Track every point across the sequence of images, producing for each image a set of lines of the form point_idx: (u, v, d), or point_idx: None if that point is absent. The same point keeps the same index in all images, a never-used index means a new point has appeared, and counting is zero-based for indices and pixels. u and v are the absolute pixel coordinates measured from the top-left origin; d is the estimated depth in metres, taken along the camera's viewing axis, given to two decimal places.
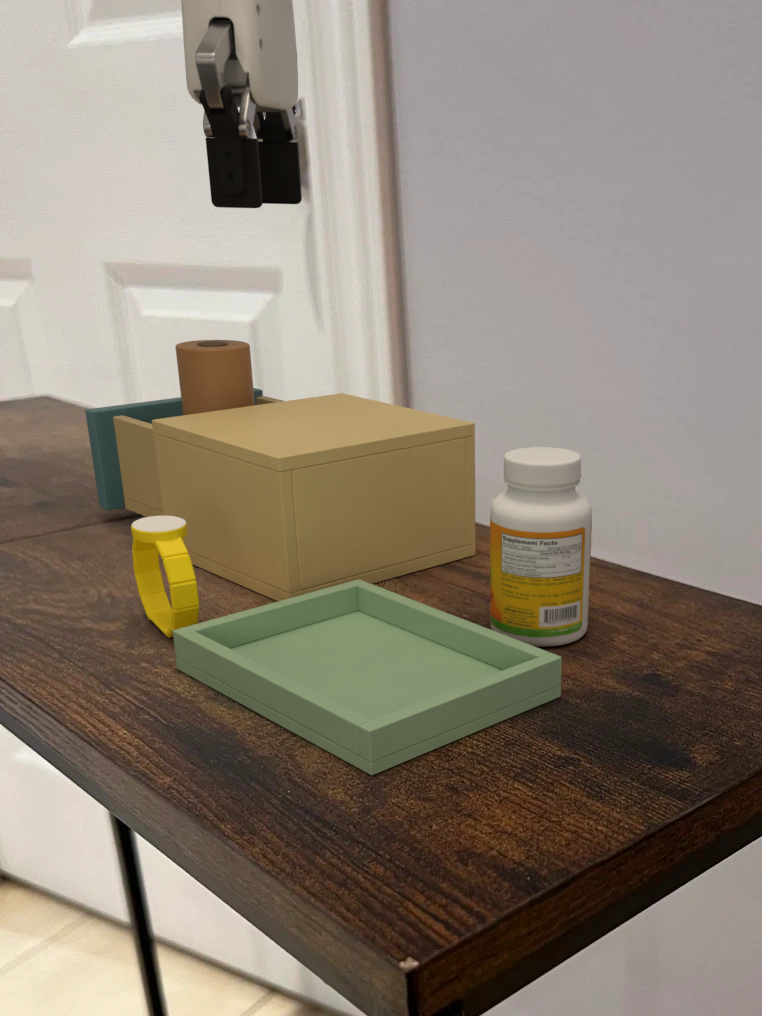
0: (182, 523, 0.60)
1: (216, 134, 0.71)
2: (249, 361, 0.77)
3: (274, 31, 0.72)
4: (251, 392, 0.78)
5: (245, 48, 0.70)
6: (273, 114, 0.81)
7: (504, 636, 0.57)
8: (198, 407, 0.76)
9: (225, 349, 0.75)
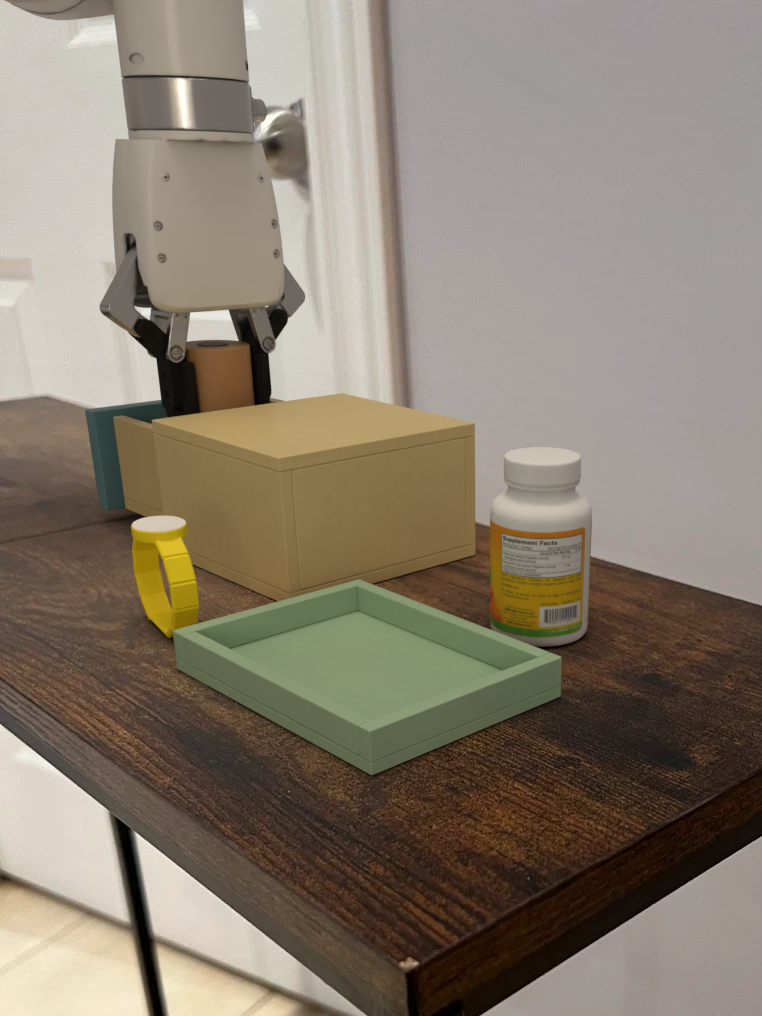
0: (182, 523, 0.60)
1: (156, 357, 0.75)
2: (249, 361, 0.77)
3: (196, 241, 0.71)
4: (251, 392, 0.78)
5: (143, 263, 0.70)
6: None
7: (504, 636, 0.57)
8: None
9: (225, 349, 0.75)
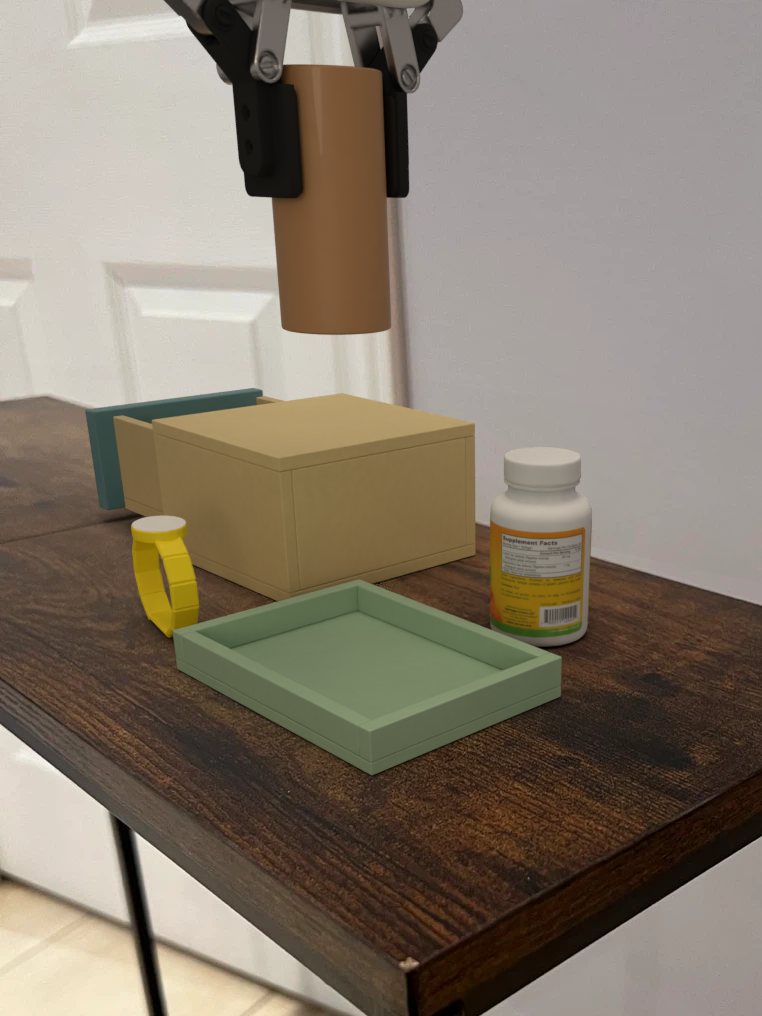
0: (182, 523, 0.60)
1: (232, 79, 0.45)
2: (381, 98, 0.47)
3: None
4: (383, 153, 0.48)
5: None
6: None
7: (504, 636, 0.57)
8: None
9: (347, 67, 0.45)
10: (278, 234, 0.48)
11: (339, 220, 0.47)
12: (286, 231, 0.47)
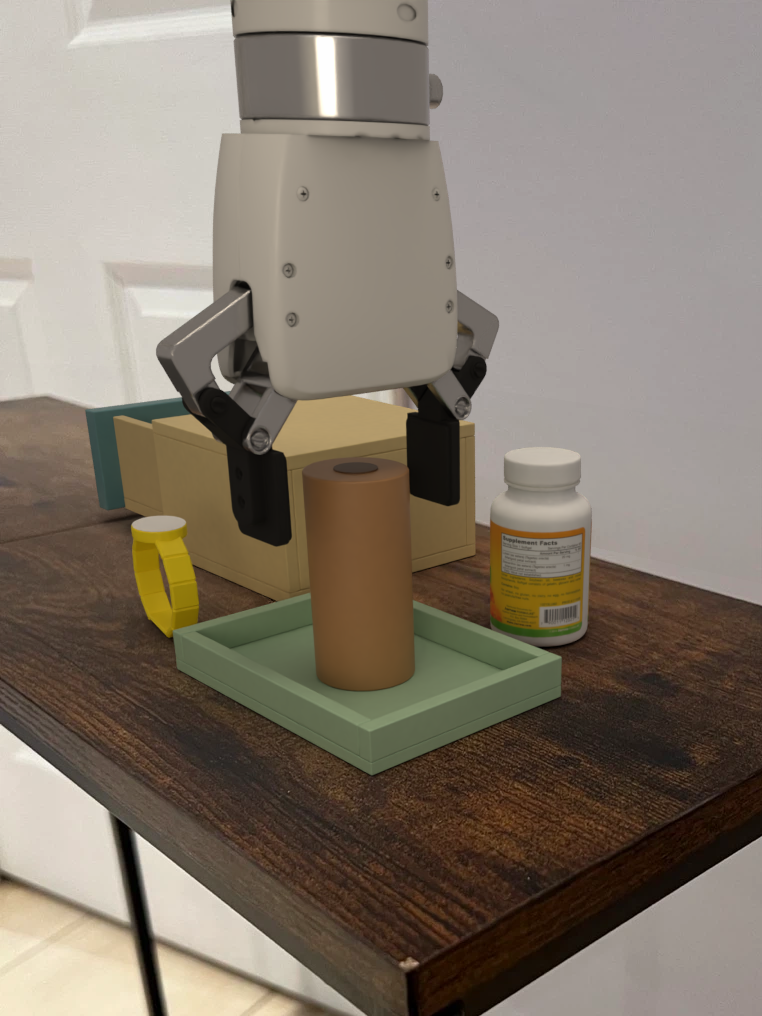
0: (182, 523, 0.60)
1: (226, 443, 0.48)
2: (408, 492, 0.52)
3: (342, 293, 0.46)
4: (409, 536, 0.53)
5: (264, 327, 0.45)
6: None
7: (504, 636, 0.57)
8: (335, 563, 0.51)
9: (379, 480, 0.50)
10: (315, 606, 0.53)
11: (370, 601, 0.52)
12: (322, 607, 0.53)
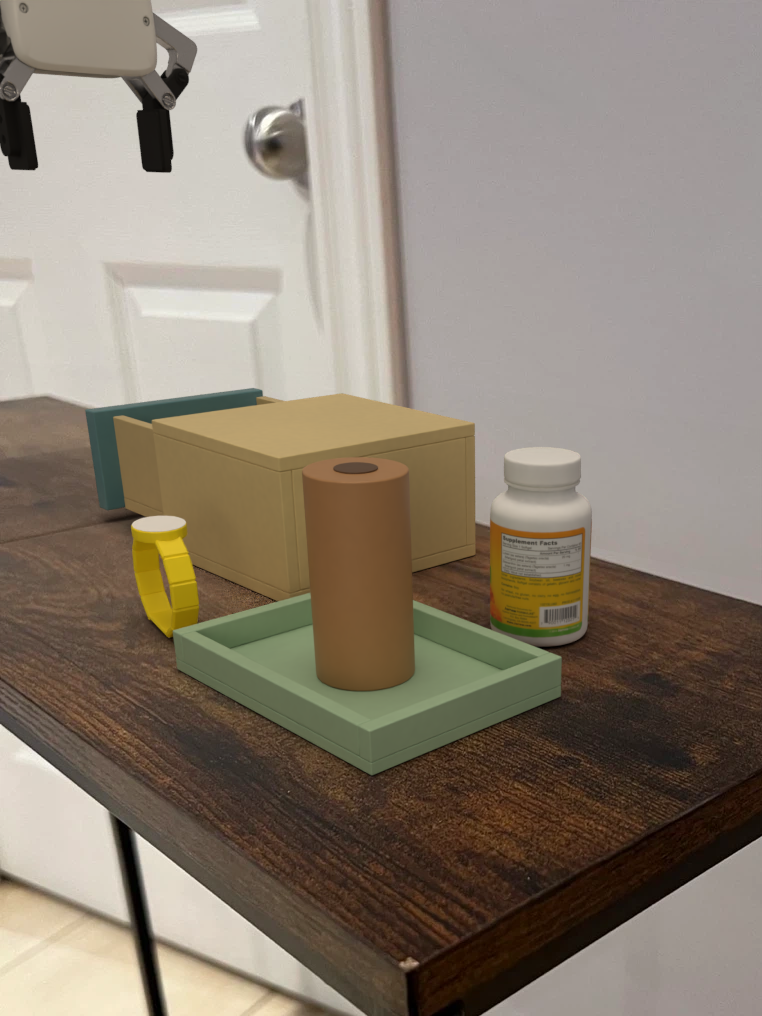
0: (182, 523, 0.60)
1: None
2: (408, 492, 0.52)
3: None
4: (409, 536, 0.53)
5: (6, 13, 0.72)
6: None
7: (504, 636, 0.57)
8: (335, 563, 0.51)
9: (379, 480, 0.50)
10: (315, 606, 0.53)
11: (370, 601, 0.52)
12: (322, 607, 0.53)
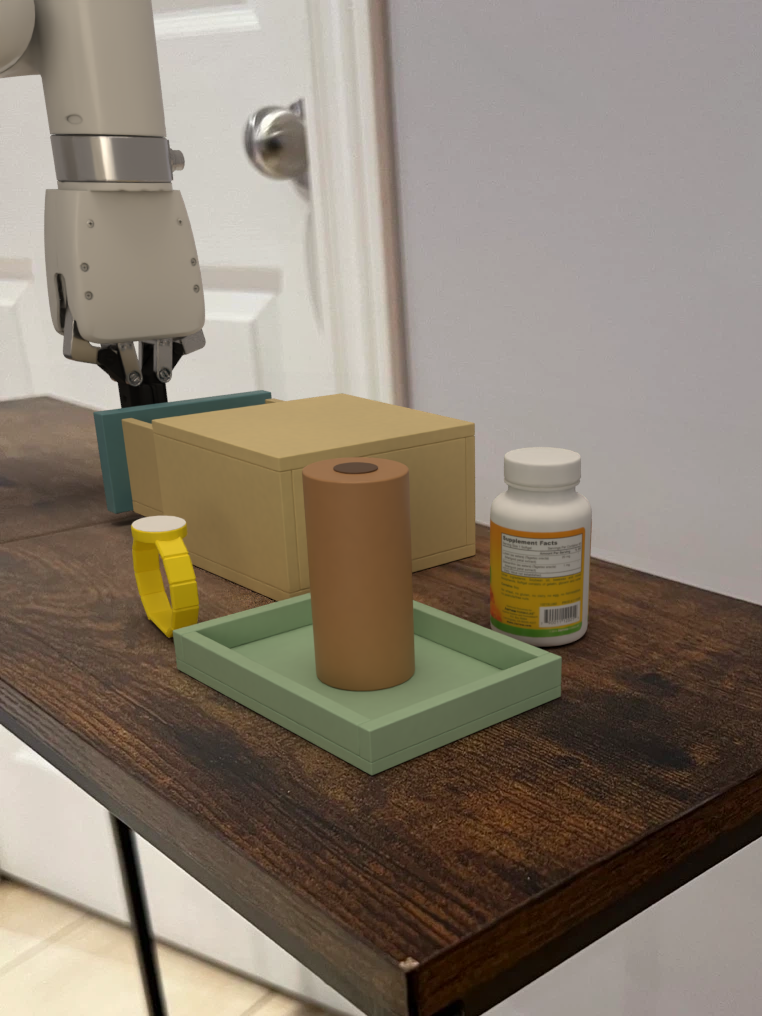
0: (182, 523, 0.60)
1: (117, 381, 0.84)
2: (408, 492, 0.52)
3: (120, 280, 0.79)
4: (409, 536, 0.53)
5: (72, 300, 0.78)
6: None
7: (504, 636, 0.57)
8: (335, 563, 0.51)
9: (379, 480, 0.50)
10: (315, 606, 0.53)
11: (370, 601, 0.52)
12: (322, 607, 0.53)
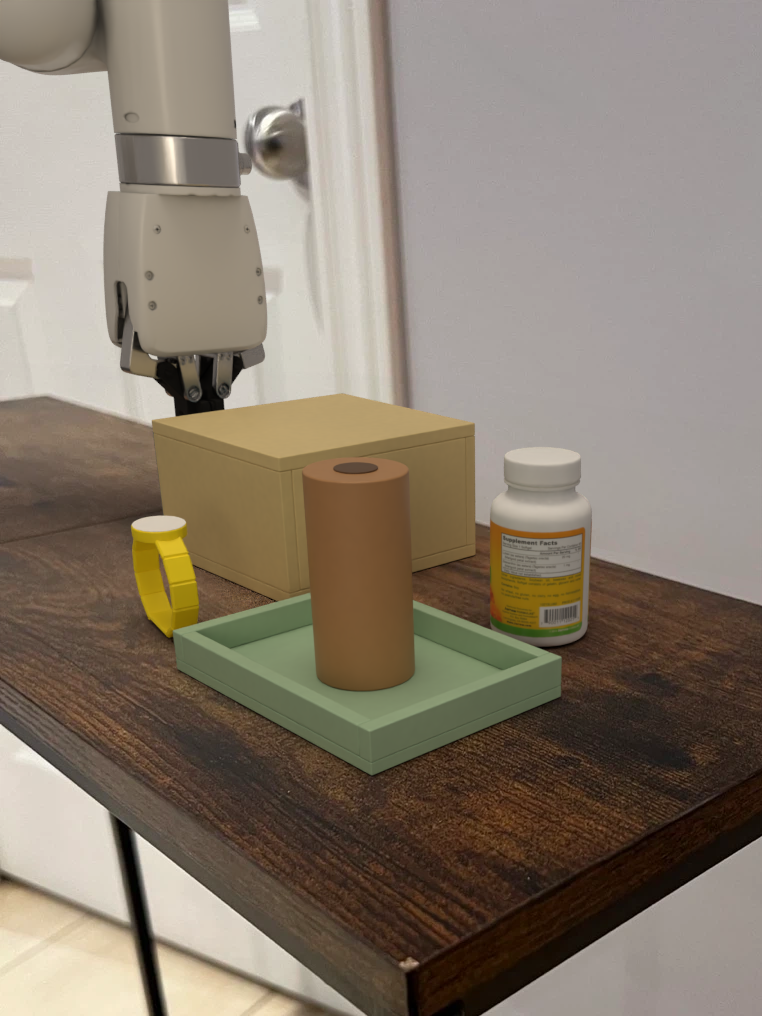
0: (182, 523, 0.60)
1: (173, 396, 0.79)
2: (408, 492, 0.52)
3: (184, 290, 0.74)
4: (409, 536, 0.53)
5: (134, 310, 0.73)
6: (212, 369, 0.80)
7: (504, 636, 0.57)
8: (335, 563, 0.51)
9: (379, 480, 0.50)
10: (315, 606, 0.53)
11: (370, 601, 0.52)
12: (322, 607, 0.53)
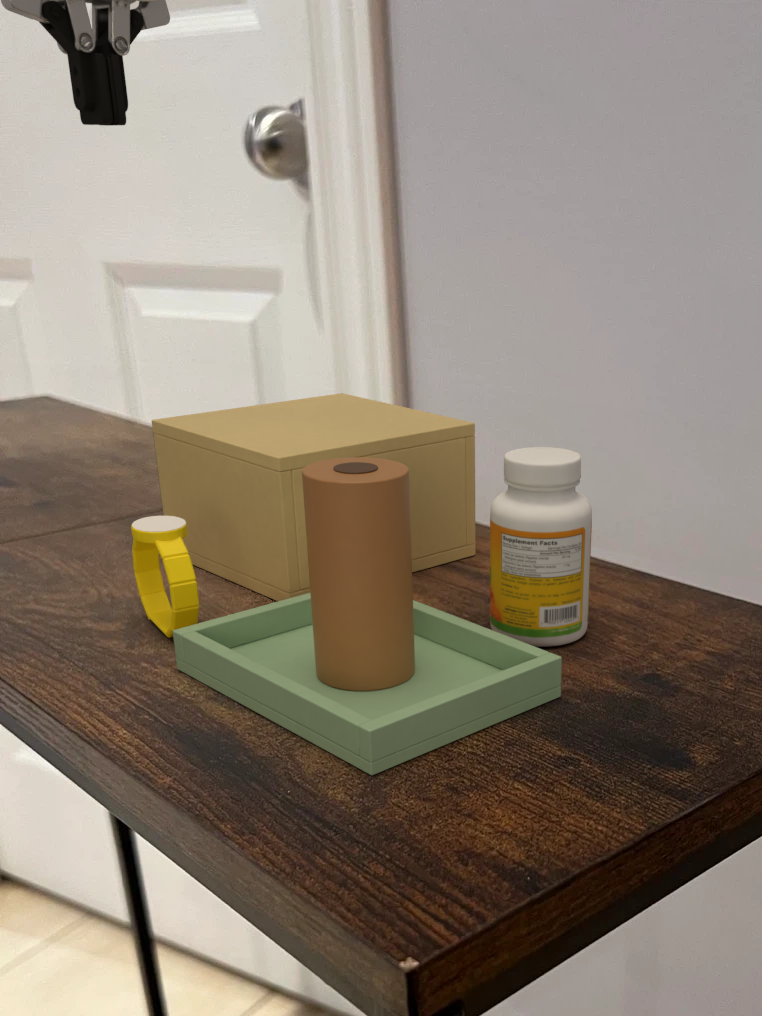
0: (182, 523, 0.60)
1: (66, 50, 0.73)
2: (408, 492, 0.52)
3: None
4: (409, 536, 0.53)
5: None
6: None
7: (504, 636, 0.57)
8: (335, 563, 0.51)
9: (379, 480, 0.50)
10: (315, 606, 0.53)
11: (370, 601, 0.52)
12: (322, 607, 0.53)
